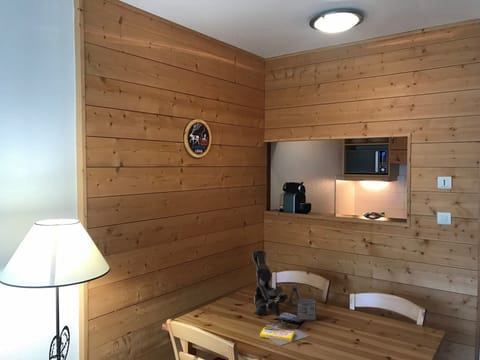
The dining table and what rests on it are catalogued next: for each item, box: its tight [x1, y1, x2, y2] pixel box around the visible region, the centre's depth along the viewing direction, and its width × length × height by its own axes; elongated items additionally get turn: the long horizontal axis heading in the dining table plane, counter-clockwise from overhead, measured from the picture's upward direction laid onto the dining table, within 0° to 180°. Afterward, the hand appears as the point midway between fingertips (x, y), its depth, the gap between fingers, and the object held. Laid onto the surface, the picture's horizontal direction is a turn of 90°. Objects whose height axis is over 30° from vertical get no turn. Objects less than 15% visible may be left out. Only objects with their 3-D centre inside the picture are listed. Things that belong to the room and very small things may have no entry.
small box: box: [296, 298, 317, 322], centre depth 217 cm, size 11×6×10 cm, turn 84°
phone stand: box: [287, 283, 303, 306], centre depth 241 cm, size 9×6×12 cm, turn 72°
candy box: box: [259, 326, 295, 341], centre depth 194 cm, size 16×2×8 cm
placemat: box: [267, 328, 310, 347], centre depth 193 cm, size 10×19×1 cm, turn 123°
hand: (279, 315), depth 200 cm, fingers closed
